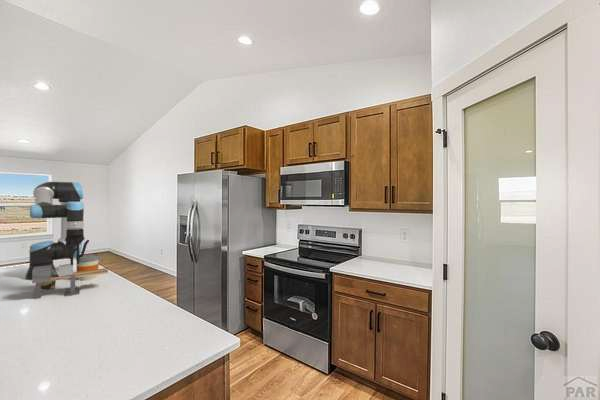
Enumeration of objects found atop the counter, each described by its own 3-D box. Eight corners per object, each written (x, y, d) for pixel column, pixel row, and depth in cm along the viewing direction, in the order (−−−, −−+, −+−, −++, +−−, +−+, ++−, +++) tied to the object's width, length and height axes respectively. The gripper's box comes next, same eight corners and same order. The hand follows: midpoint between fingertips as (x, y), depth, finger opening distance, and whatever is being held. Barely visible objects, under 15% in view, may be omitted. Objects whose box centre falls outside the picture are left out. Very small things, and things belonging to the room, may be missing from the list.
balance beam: (34, 281, 145) (34, 267, 145) (107, 271, 165) (107, 259, 165) (32, 285, 138) (32, 270, 138) (108, 274, 159) (108, 261, 159)
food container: (63, 286, 161) (63, 270, 161) (53, 290, 155) (53, 272, 155) (45, 285, 162) (45, 269, 162) (34, 289, 156) (34, 272, 156)
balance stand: (37, 294, 147) (37, 276, 147) (79, 288, 158) (79, 271, 158) (34, 301, 138) (34, 282, 138) (79, 293, 149) (79, 276, 149)
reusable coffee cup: (78, 277, 181) (78, 254, 181) (101, 275, 186) (101, 253, 186) (72, 282, 169) (72, 258, 169) (96, 279, 175) (96, 257, 175)
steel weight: (59, 275, 150) (59, 265, 150) (73, 274, 153) (73, 263, 153) (58, 277, 146) (58, 266, 146) (73, 275, 150) (73, 265, 150)
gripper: (59, 230, 145) (59, 273, 145) (89, 228, 153) (89, 269, 153) (60, 228, 151) (59, 270, 151) (89, 227, 159) (89, 266, 159)
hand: (74, 270), depth 152 cm, fingers closed
